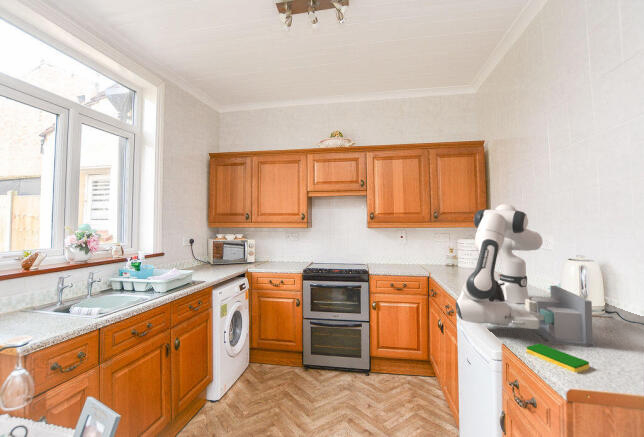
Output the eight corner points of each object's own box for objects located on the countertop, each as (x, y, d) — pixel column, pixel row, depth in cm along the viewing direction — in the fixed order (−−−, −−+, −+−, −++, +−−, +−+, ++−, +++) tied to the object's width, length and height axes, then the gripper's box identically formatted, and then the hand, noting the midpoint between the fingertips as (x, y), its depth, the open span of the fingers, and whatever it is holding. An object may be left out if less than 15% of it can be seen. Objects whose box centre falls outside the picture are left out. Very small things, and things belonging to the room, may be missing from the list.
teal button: (545, 324, 102) (545, 312, 102) (540, 320, 107) (539, 308, 107) (572, 326, 100) (572, 314, 100) (565, 322, 104) (565, 310, 104)
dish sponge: (575, 375, 80) (575, 366, 80) (526, 353, 93) (525, 346, 93) (589, 369, 82) (589, 361, 82) (539, 349, 95) (539, 343, 95)
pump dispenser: (500, 314, 130) (500, 282, 130) (478, 309, 138) (477, 279, 139) (509, 310, 136) (508, 279, 136) (487, 305, 145) (486, 276, 145)
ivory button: (529, 312, 116) (529, 301, 116) (525, 308, 120) (525, 298, 120) (552, 313, 113) (552, 303, 113) (547, 310, 117) (547, 300, 118)
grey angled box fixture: (548, 342, 100) (547, 299, 100) (522, 319, 123) (521, 284, 123) (596, 347, 96) (595, 301, 96) (559, 322, 118) (558, 285, 119)
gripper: (510, 314, 99) (556, 317, 95) (493, 298, 118) (530, 300, 114) (510, 331, 99) (557, 335, 95) (493, 313, 118) (531, 315, 114)
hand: (542, 316), depth 104 cm, fingers closed
